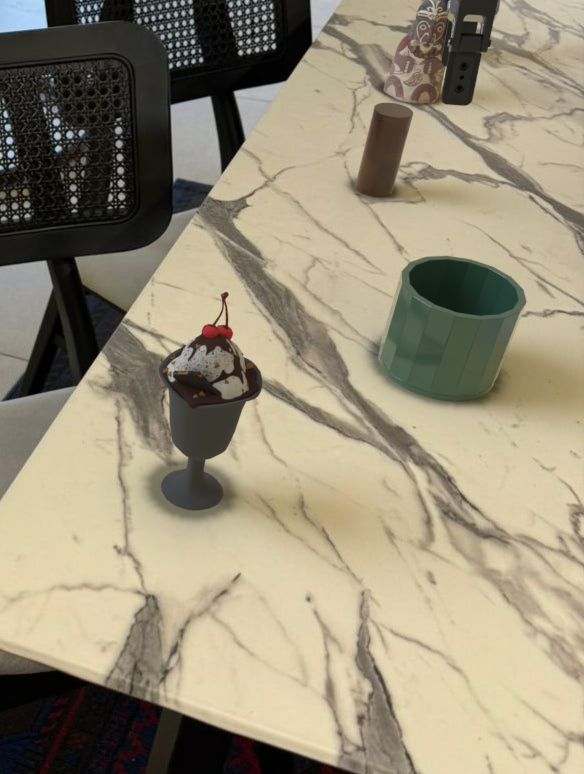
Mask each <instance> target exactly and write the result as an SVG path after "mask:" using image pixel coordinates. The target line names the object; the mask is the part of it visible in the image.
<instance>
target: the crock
mask: <svg viewBox="0 0 584 774" xmlns="http://www.w3.org/2000/svg"><path fill="white" fill-rule="evenodd" d="M527 303H528V301H527V297H526V293H525V290H524V288H523V287H522V286H521V285H520V284H519V283H518V282H517V281H516V280H515V279H514V278H513V277H512V276H511V275H509V274H507V273H505V272H504V271H501V270H500V269H498V268H497V267H495V266H493V265H489V264H487V263H483V262H480V261H477V260H474V259H471V258H466V257H457V256H451V255H433V256H424V257H421V258H418V259H415V260H412V261H409V262H408V264H407V265H406V266H405V267H404V268H403V269H402V270H401V271H400V275H399V279H398V281H397V285H396V289H395V291H394V295H393V299H392V302H391V305H390V306H391V307H390V309H389V313H388V316H387V319H386V323H385V327H384V330H383V333H382V337H381V341H380V344H379V350H378V351H379V352H378V356H377V357H378V363H379V366H380V368H381V370H382V371H383V372H384V373H385V375H386V376H387V377H388V378H389V379H390V380H392V381H393V382H394V383H396V384H397V385H399V386H400V387H401V388H403V389H406V390H407V391H409V392H412V393H413V394H417V395H419V396H421V397H425V398H429V399H432V400H437V401H438V400H439V401H443V402H444V401H445V402H466V401H467V402H468V401H472V400H476V399H479V398H481V397H483V396H485V395H486V394H488V393H489V392H490V391H491V390H492V389H493V387H494V385H495V382H496V381H497V379H498V377H499V374H500V371H501V369H502V367H503V364H504V361H505V359H506V357H507V354H508V351H509V349H510V346H511V344H512V341H513V339H514V336H515V334H516V331H517V328H518V326H519V323H520V320H521V319H522V316H523V313H524V311H525V308H526V306H527Z"/></svg>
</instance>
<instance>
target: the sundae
mask: <svg viewBox="0 0 584 774" xmlns="http://www.w3.org/2000/svg"><path fill="white" fill-rule="evenodd" d="M229 296H230V295H229V292H228V291H224V292H223V293H221V294H220V297H221V310H220V312H219V315H217V317H216V319H215V320H214V321H213V323H207V324H204V325H203V327H202V328H201V331H200V332H201V333H200V334H199V335H197V336H195V337H194V338H192V339H190V341H188V342H187V343H186V344H184V345H182V346H181V347H179V348H178V349H176V350H174V351H173V352H171V353H169V354H168V355H167V356H166V357H165V358H164V359H163V361H161V363H159V367H158V376H159V378H160V380H161V381H162V383H163V384H164V386H165V387H166V388H167V390H168V399H169V400H168V405H169V407H168V416H169V420H168V421H169V431H170V436H171V441H172V443H173V445H174V446H175V447H176V449H177V450H178V451H179V452H180V453H181V454H182V455H184V456H185V457H187V463H186V468H181V469H177V470H173V471H171V472H169V473H168V474H165V476H164V477H163V478H162V480H161V482H160V490H161V493H162V495H163V496H164V498H165V499H166V501H168V502H169V503H170V504H172V505H173V506H175V507H177V508H180V509H182V510H187V511H193V512H194V511H195V512H197V511H203V510H208V509H209V510H210V509H211V508H214V507H216V506H217V505H218V504H220V502H221V501H222V500H223V497H224V490H223V489H224V488H223V486H222V485H221V483H220V482H219V480H218V479H217V478H216V477H215V476H213V475H212V474H210V473H209V472H207V471H205V464H206V461H207V460H210V459H211V460H212V459H213V458H215V457H218V456H220V455H222V454H224V453H225V452H226V451H227V449H228V448H229V445H230V443H231V441H232V439H233V437H234V435H235V432H236V429H237V427H238V423H239V422H240V417H241V415H242V412H243V409H244V408H245V405H246V404H247V402H250V401H253V400H255V399H257V398H258V397H260V394H261V392H262V389H263V377H262V372H261V370H260V369H259V367H258V366H257V365H256V364H255V363H254V362H253V361H252V360H251V359H249V358H247V357H245V356H244V353H243V352H242V349H241V348H240V347H239V346H238V344H237V343H235V342H234V341H233V340H231V339H232V338H233V336H234V332H233V329H232V327H230V326H229V310H228V305H227V302H226V300H227V298H228V297H229ZM224 309H225V310H224ZM223 312H225V313H224V314H225V322H224V323H225V324H219V325H217V323H218V322H219V320H220V318H221V317H222V315H223ZM216 325H217V326H216Z"/></svg>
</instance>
